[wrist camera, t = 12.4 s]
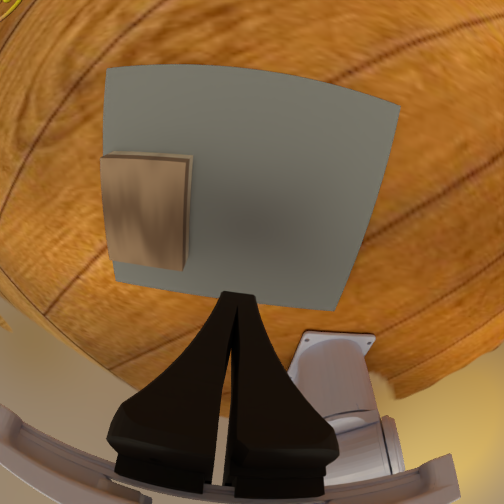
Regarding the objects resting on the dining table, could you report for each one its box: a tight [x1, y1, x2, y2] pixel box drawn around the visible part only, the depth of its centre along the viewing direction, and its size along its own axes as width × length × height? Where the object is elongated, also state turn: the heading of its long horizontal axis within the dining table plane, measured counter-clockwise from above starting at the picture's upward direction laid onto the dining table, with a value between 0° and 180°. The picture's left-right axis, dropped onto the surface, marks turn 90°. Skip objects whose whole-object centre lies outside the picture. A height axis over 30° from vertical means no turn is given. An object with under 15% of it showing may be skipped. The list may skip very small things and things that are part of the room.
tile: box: [100, 151, 193, 272], centre depth 19 cm, size 8×2×6 cm
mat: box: [103, 64, 401, 311], centre depth 19 cm, size 18×20×1 cm
